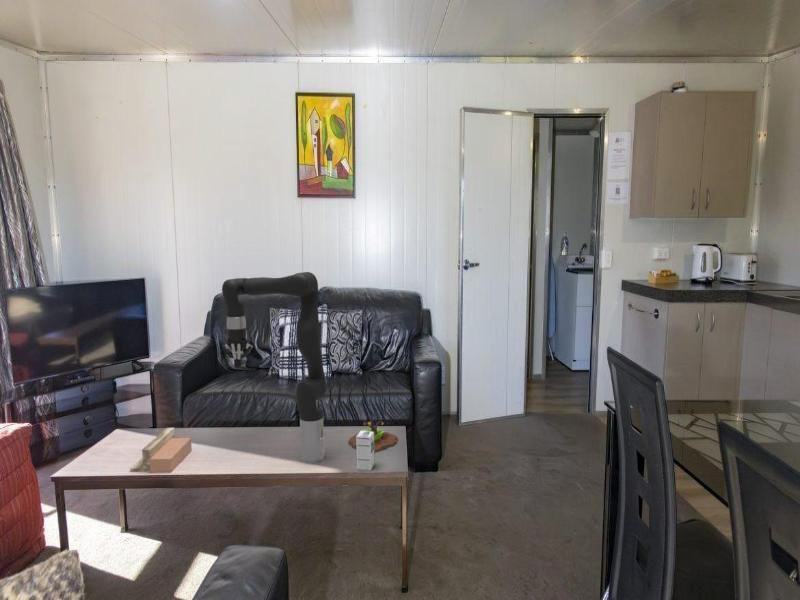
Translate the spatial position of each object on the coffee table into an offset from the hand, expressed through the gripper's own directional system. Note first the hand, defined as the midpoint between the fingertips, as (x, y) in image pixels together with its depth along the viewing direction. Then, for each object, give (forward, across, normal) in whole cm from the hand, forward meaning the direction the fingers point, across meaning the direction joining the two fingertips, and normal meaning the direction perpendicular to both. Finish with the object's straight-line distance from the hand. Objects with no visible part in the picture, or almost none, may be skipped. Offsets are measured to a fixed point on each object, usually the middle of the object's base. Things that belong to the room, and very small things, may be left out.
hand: (238, 367), depth 213 cm
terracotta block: (+35, +24, +13) cm, 45 cm away
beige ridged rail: (+35, +30, +11) cm, 47 cm away
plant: (+36, -56, -3) cm, 66 cm away
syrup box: (+35, -54, +21) cm, 68 cm away
